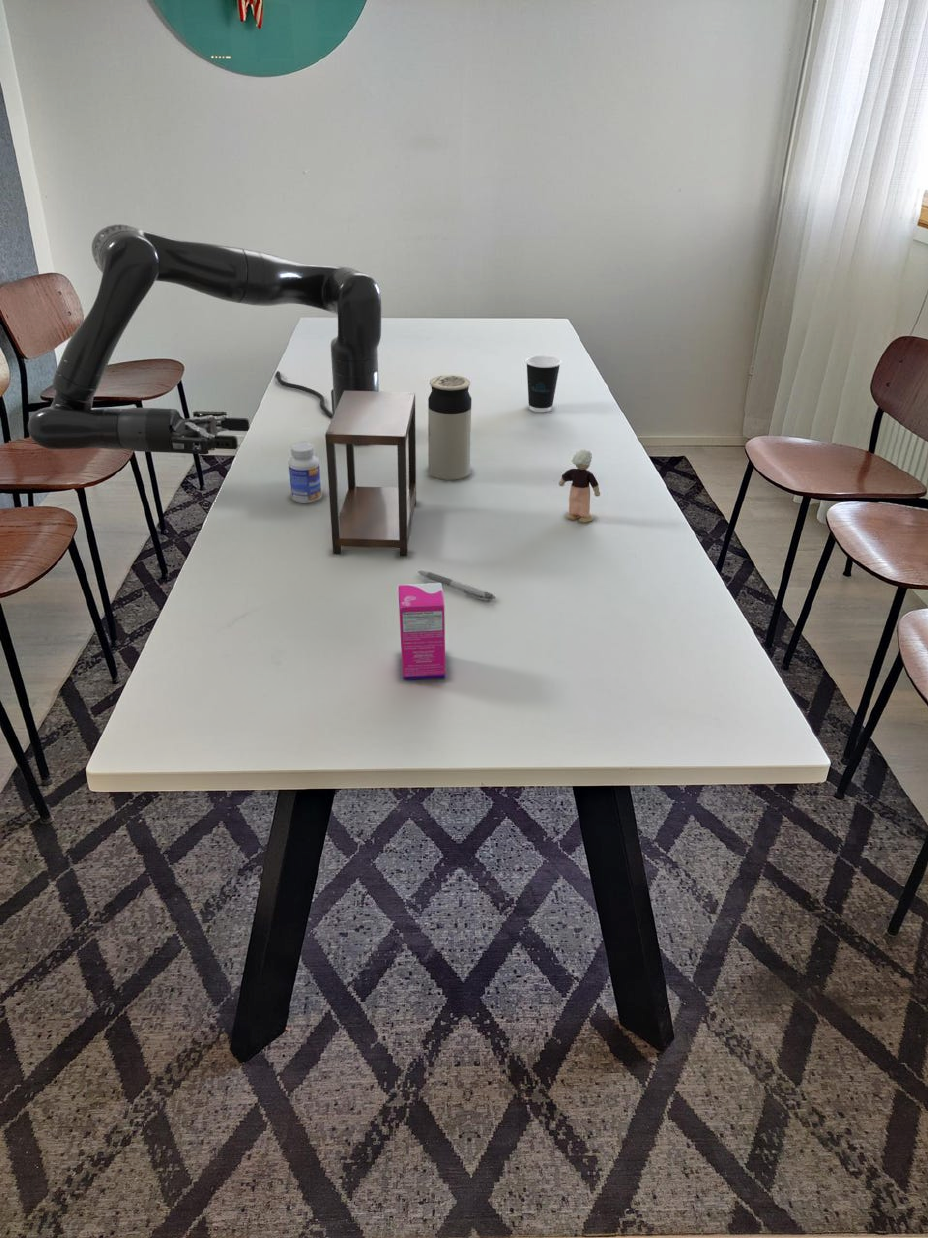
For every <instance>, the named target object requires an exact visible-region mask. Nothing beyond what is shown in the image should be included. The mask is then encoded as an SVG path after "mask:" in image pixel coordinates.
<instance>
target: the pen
mask: <svg viewBox="0 0 928 1238" xmlns="http://www.w3.org/2000/svg"><path fill="white" fill-rule="evenodd" d="M417 573H418V575H421V576H422V577H424V578H426V579H428V580H432V581H434V582H436V583H441V584H442V585H446V586H449V587H453V588H456V589H458V590H462V591H463V593H465V594H466V595H469V596H470V597H473V598H475V599H478V600H481V601H487V602H489V601H490V600H493V599H496V595H494V594H493V593H491V592H489V591H486V590H483V589H480V588H477V587H474V586H471V585H469V584H466V583H462V582H460V581H457V580H454V579H452V578H449V577H446V576H442V575H439V574H437V573H434V572H431V571H427V570H417Z"/></svg>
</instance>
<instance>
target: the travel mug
mask: <svg viewBox="0 0 928 1238" xmlns="http://www.w3.org/2000/svg"><path fill="white" fill-rule="evenodd" d="M471 383H472V382H471V380H470V379H469V378H467V377H465V376H461V375H454V374H444V375H443V374H442V375H437V376H435V377H432V378H431V379H430V380H429V385H430V387H431V392H430V393H429V396H428V399H427V403H428V404H427V406H428V407H427V408H428V410H427V413H428V417H427V419H428V420H427V421H428V422H427V423H428V427H427V428H428V430H427V431H428V434H427V435H428V440H427V441H428V444H427V445H428V450H427V451H428V452H427V453H428V454H427V455H428V458H427V459H428V462H427V463H428V473H429V475H430V476H432V477H434V478H436V479H439V480H445V481H454V480H455V481H456V480H461V479H463V478H465V477H467V476H468V475H469V474H470V473H471V440H472V439H471V435H472V433H471V432H472V400H473V399H472V397H471V394H470V393H469V388H470V386H471Z"/></svg>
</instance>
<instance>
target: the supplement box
mask: <svg viewBox="0 0 928 1238" xmlns="http://www.w3.org/2000/svg"><path fill="white" fill-rule="evenodd" d="M442 585H443V583H440V582H431V583H409V584H407V583H406V584H398V611H399V612H398V613H399V630H400V631H399V632H400V634H399V635H400V651H401V665H402V679H403V680H404V681H405V680H427V679H428V680H429V679H430V680H434V679H446V676H447V675H446V674H447V673H446V671H447V670H446V629H445V628H446V620H445V617H446V616H445V597H444V592H443V586H442Z"/></svg>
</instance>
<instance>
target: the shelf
mask: <svg viewBox="0 0 928 1238" xmlns="http://www.w3.org/2000/svg"><path fill="white" fill-rule="evenodd" d="M416 425H417V423H416V392H409V391H408V392H407V391H406V392H405V391H379V392H378V391H345V390H344V392H343V394H342V397H341V399H340V401H339V404H338V406H337V408H336V411H335V413H334V415H333V418H331V420H330V422H329V424H328V427H327V429H326V432H325V434H324V435H325V437H324V438H325V451H326V452H325V453H326V467H327V481H328V496H329V512H330V527H331V542H332V543H331V544H332V555H341V554H342V547H349V548H374V549H375V548H377V549H379V548H380V549H399V557H402V558H403V557H404V558H406V557H408V554H409V553H408V551H409V550H408V545H409V539H410V533H411V528H412V522H413V516H414V512H415V511H414V510H415V507H416V505H417V446H416V445H417V444H416V443H417V441H416V440H417V438H416V437H417V435H416V432H417V431H416V429H417V428H416V427H417V426H416ZM354 444H359V445H362V446H363V445H365V446H366V445H367V446H370V445H371V446H396V447H397V487H389V486H388V487H387V486H357V484H356V465H355V445H354ZM336 445H345V454H346V473H347V492H346V493H345V494H346V495H345V498H344V501H343V504H342V506H341V510H340V505H339V502H340V501H339V488H338V487H339V486H338V472H337V471H338V469H337V453H336ZM407 447H408V448H407ZM407 451H408V453H407ZM407 454H408V460H407ZM407 461H408V487H407Z"/></svg>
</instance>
